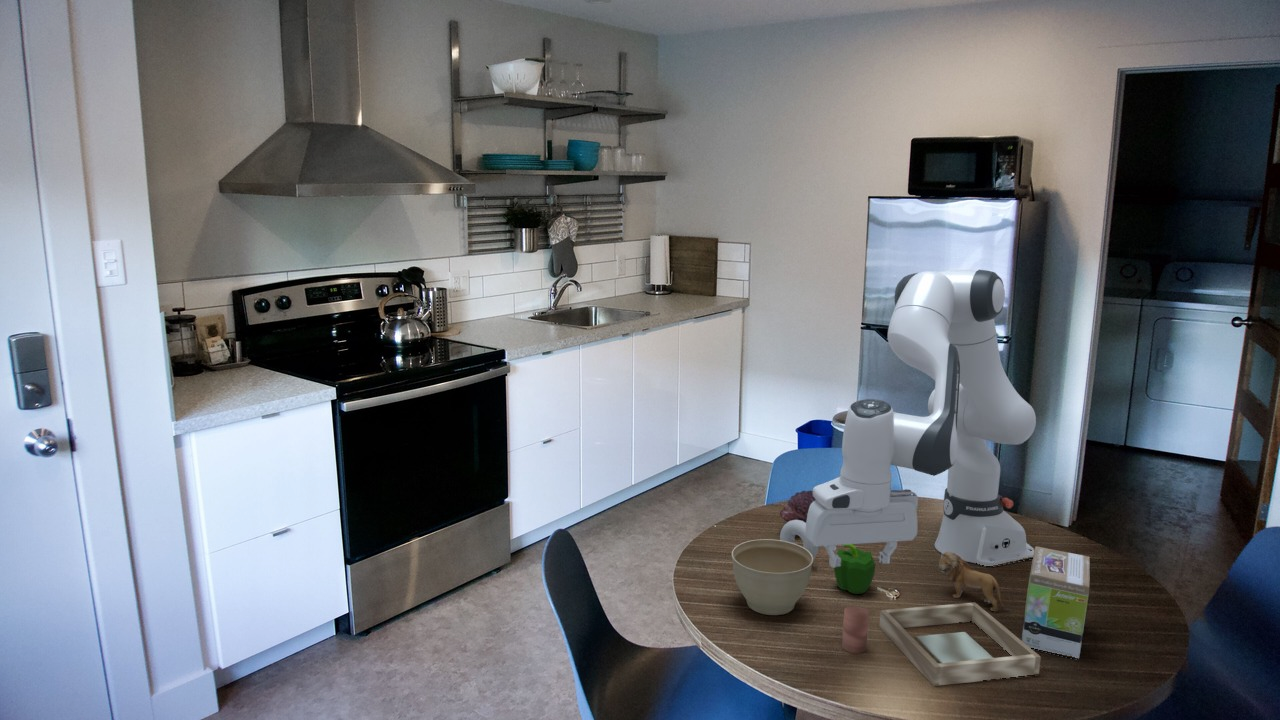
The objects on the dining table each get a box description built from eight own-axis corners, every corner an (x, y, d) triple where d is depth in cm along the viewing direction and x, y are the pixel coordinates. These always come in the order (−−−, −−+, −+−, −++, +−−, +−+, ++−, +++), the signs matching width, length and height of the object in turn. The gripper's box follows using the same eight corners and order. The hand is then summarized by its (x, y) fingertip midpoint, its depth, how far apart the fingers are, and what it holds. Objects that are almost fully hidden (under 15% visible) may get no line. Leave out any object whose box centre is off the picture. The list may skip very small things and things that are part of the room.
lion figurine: (932, 593, 176) (935, 553, 174) (941, 585, 180) (945, 545, 178) (1004, 617, 166) (1009, 574, 165) (1013, 607, 170) (1017, 566, 169)
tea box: (1080, 662, 151) (1090, 585, 148) (1020, 647, 155) (1028, 573, 152) (1081, 625, 164) (1090, 554, 161) (1025, 612, 168) (1033, 543, 165)
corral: (973, 618, 165) (975, 602, 165) (1038, 675, 146) (1040, 656, 146) (879, 627, 162) (880, 610, 161) (933, 686, 142) (935, 667, 142)
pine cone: (804, 514, 219) (806, 477, 217) (839, 523, 212) (842, 486, 210) (769, 534, 205) (771, 496, 203) (806, 545, 199) (808, 505, 197)
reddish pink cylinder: (860, 639, 157) (862, 605, 156) (870, 652, 153) (873, 617, 151) (837, 641, 156) (840, 607, 155) (848, 654, 152) (850, 619, 151)
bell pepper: (880, 588, 178) (884, 544, 176) (861, 601, 172) (864, 556, 170) (845, 576, 183) (848, 533, 181) (825, 588, 177) (828, 544, 175)
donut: (820, 567, 187) (823, 525, 185) (810, 572, 185) (813, 529, 183) (785, 553, 195) (787, 512, 193) (775, 557, 192) (777, 516, 190)
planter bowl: (762, 579, 181) (764, 532, 179) (825, 605, 170) (829, 555, 168) (713, 603, 170) (715, 553, 168) (778, 633, 159) (781, 580, 157)
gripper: (909, 483, 154) (903, 553, 156) (804, 488, 150) (800, 560, 152) (927, 495, 147) (921, 568, 150) (818, 500, 144) (813, 575, 146)
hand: (859, 564), depth 151 cm, fingers open, 8 cm apart
